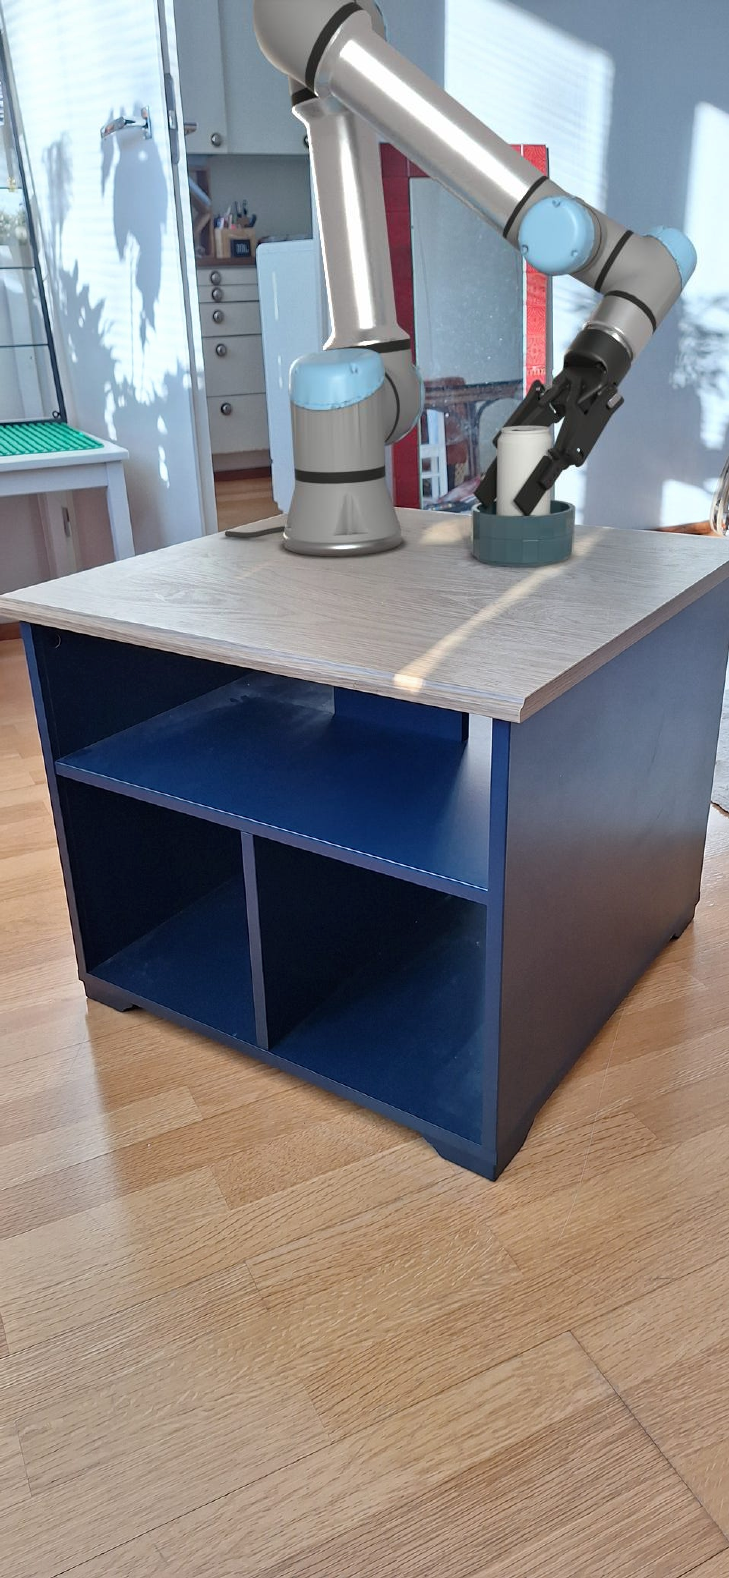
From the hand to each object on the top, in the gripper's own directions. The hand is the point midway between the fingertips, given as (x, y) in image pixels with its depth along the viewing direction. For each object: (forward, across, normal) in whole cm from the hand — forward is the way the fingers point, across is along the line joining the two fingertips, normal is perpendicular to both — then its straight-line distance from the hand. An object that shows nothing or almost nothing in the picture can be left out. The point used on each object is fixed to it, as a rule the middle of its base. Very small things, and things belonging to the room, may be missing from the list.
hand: (500, 504), depth 131 cm
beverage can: (0, 0, -5) cm, 5 cm away
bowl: (+2, 0, -7) cm, 8 cm away
